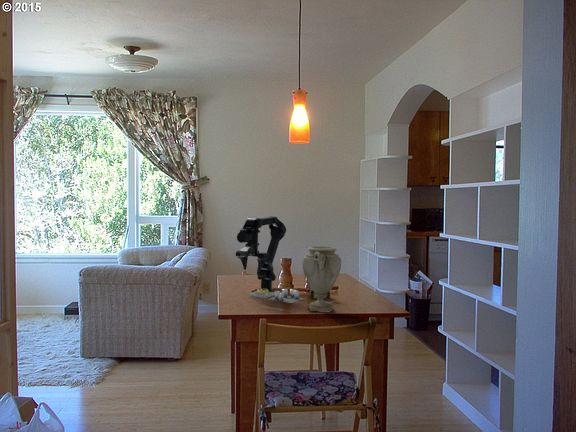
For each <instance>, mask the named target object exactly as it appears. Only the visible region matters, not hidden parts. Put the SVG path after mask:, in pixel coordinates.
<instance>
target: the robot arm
mask: <svg viewBox="0 0 576 432" xmlns="http://www.w3.org/2000/svg"><path fill="white" fill-rule="evenodd" d="M263 226H268V229H269V231H270V232H269V233H270V237H271V238H270V240H269V241H270V242H269V245H268V248H267V251H265V252H264V251H263V252H262V251H261V252H260V250H259V246H260V243H259V234H260V233H261V230H259V229H260V228H262V227H263ZM286 233H287V227H286V225H285V224H284V223H283V222H282V221H281V220H280V219H279V218H278V216H271V215H270V216H267V217H261V218H258V217H247V218H246V220H245V222H244V224H243V227H242V228H241V229H240V230H239V232H238V233H237V234H236V239H237V241H238V243H241V244H244V243H245V246H244V247H242V248H241V249H240V250H236V252H235V257H237V258H238V259H240V261H241V264H242V266H243V269H244V270H247V266H248V259H249V258H248V257H255V258H256V257H257V259H256V260H257V268H256V269H257V270H256V275H257V279H258V280H259V281H260V288H263V289H268V292H271V291H273V290H274V289H273V282H275V281H276V279H277V276H276V274H275V272H274V265H273V263H274V259H275V257H276V253H277V250H278V247H279V244H280V241H281V240H282V239H283V238H284V237H285V235H286Z"/></svg>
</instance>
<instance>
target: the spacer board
mask: <svg viewBox="0 0 576 432" xmlns="http://www.w3.org/2000/svg"><path fill="white" fill-rule="evenodd" d="M267 300H268V301H273V302H274V301H275V302H283V303H287V304H294V303H296V302H300V301H303V300H305V298H304V297H299V299H294V298H290V295H287V298H284V301H278V300H275V299H274V297H270V298H269V299H267Z"/></svg>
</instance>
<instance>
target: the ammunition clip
mask: <svg viewBox="0 0 576 432" xmlns="http://www.w3.org/2000/svg"><path fill="white" fill-rule="evenodd" d="M315 294H316V293H315V292H314V291H313V290H312V289H311V288H309V299H310V300H311V299H312V300H317V296H316V295H315ZM324 299H331V290H330V291H329V292H327V293H326V295H325V297H324Z"/></svg>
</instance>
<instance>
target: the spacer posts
mask: <svg viewBox="0 0 576 432" xmlns="http://www.w3.org/2000/svg"><path fill="white" fill-rule="evenodd" d="M274 293H275V294H274V296H273V298H274V299H275V300H278V301H277V302H280V301H284V298H287V296H288V289H287V288H283V289H281V291H279V290H274ZM289 296H290V298H294V299H299V298H300V291H299V290H296V289H295V288H294V289H291V288H290V289H289Z"/></svg>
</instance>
